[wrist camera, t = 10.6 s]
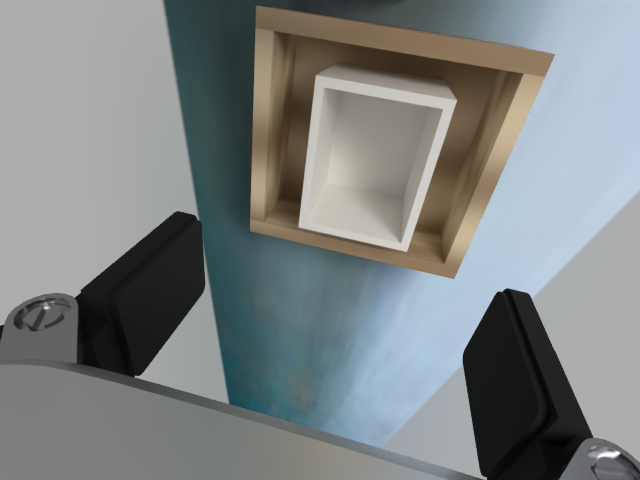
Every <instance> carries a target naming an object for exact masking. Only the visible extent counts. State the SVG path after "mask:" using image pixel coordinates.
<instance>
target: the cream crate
mask: <svg viewBox="0 0 640 480" xmlns="http://www.w3.org/2000/svg"><path fill="white" fill-rule="evenodd" d="M456 102H457V99H456V98H455V96H454V95H453V93H452V92H451V90H450V88H449V87H448V85H447V84H446V82H445V80H440V79H434V78H428V77H423V76H417V75H411V74H405V73H400V72H394V71H388V70H382V69H377V68H371V67H365V66H359V65H354V64H348V63H342V62H338V63H336V64H334V65H333V66H331V67H329V68H327V69H326V70H324V71H322V72H320V73H319V74H317V75H316V78H315V87H314V96H313V104H312V113H311V122H310V130H309V139H308V148H307V157H306V165H305V174H304V183H303V191H302V200H301V209H300V217H299V226H298V227H299V228H304V229H308V230H313V231H317V232H321V233H326V234H330V235H335V236H339V237H343V238H348V239H352V240H357V241H361V242H365V243H370V244H374V245H379V246H383V247H387V248H392V249H396V250H400V251H405V252H407V250H408V247H409V244H410V241H411V238H412V235H413V232H414V229H415V226H416V223H417V220H418V217H419V214H420V211H421V208H422V205H423V202H424V199H425V196H426V193H427V190H428V187H429V184H430V181H431V178H432V175H433V172H434V169H435V166H436V163H437V160H438V157H439V154H440V151H441V148H442V145H443V142H444V139H445V136H446V133H447V130H448V127H449V124H450V120H451V117H452V114H453V111H454V108H455V105H456Z"/></svg>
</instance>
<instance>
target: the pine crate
mask: <svg viewBox="0 0 640 480" xmlns="http://www.w3.org/2000/svg"><path fill="white" fill-rule="evenodd" d="M554 56H555V54H550V53H546V52H541V51H537V50H532V49H528V48H523V47H518V46H511V45H505V44H499V43H493V42H487V41H481V40H475V39H469V38H462V37H456V36H450V35H444V34H438V33H432V32H426V31H420V30H413V29H407V28H401V27H395V26H389V25H383V24H377V23H371V22H364V21H358V20H352V19H346V18H340V17H334V16H328V15H322V14H315V13H309V12H303V11H297V10H291V9H283V8H274V7H265V6H256V30H255V66H254V102H253V138H252V174H251V210H250V231H252V232H256V233H260V234H264V235H269V236H273V237H277V238H281V239H286V240H290V241H294V242H298V243H303V244H307V245H311V246H316V247H320V248H324V249H328V250H333V251H337V252H341V253H345V254H350V255H354V256H358V257H363V258H367V259H371V260H375V261H380V262H384V263H388V264H392V265H397V266H401V267H405V268H409V269H414V270H418V271H422V272H427V273H431V274H435V275H439V276H444V277H448V278H452V279H454V278H455V276H456V274H457V271H458V269H459V267H460V265H461V263H462V260H463V258H464V256H465V254H466V251H467V249H468V247H469V245H470V243H471V240H472V238H473V236H474V234H475V231H476V229H477V227H478V225H479V223H480V220H481V218H482V216H483V214H484V211H485V209H486V207H487V205H488V202H489V200H490V198H491V196H492V194H493V191H494V189H495V187H496V185H497V182H498V180H499V178H500V176H501V174H502V171H503V169H504V167H505V165H506V162H507V160H508V158H509V156H510V154H511V151H512V149H513V147H514V145H515V142H516V140H517V138H518V136H519V134H520V131H521V129H522V127H523V125H524V122H525V120H526V118H527V116H528V114H529V111H530V109H531V107H532V105H533V102H534V100H535V98H536V96H537V93H538V91H539V89H540V87H541V85H542V82H543V80H544V78H545V76H546V73H547V71H548V69H549V67H550V65H551V62H552V60H553V58H554ZM338 62H342V63H348V64H354V65H359V66H365V67H371V68H377V69H382V70H388V71H394V72H400V73H405V74H411V75H417V76H423V77H428V78H434V79H440V80H445V82H446V84H447V85H448V87H449V88H450V90H451V92H452V93H453V95H454V96H455V98H456V99H457V102H456V105H455V108H454V111H453V114H452V117H451V120H450V124H449V127H448V130H447V133H446V136H445V139H444V142H443V145H442V148H441V151H440V154H439V157H438V160H437V163H436V166H435V169H434V172H433V175H432V178H431V181H430V184H429V187H428V190H427V193H426V196H425V199H424V202H423V205H422V208H421V211H420V214H419V217H418V220H417V223H416V226H415V229H414V232H413V235H412V238H411V241H410V244H409V247H408V250H407V252H405V251H400V250H396V249H392V248H387V247H383V246H379V245H374V244H370V243H365V242H361V241H357V240H352V239H348V238H343V237H339V236H335V235H330V234H326V233H321V232H317V231H313V230H308V229H304V228H299V227H298V226H299V217H300V209H301V200H302V191H303V183H304V174H305V165H306V157H307V148H308V139H309V130H310V122H311V113H312V104H313V96H314V87H315V78H316V75H317V74H319V73H320V72H322V71H324V70H326V69H327V68H329V67H331V66H333V65H334V64H336V63H338Z"/></svg>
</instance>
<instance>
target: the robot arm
mask: <svg viewBox="0 0 640 480" xmlns="http://www.w3.org/2000/svg"><path fill="white" fill-rule="evenodd" d="M204 288H205V271H204V256H203V240H202V225H201V222H200V221H198V220H197V218H196V216H195V215H192V214H188V213H183V212H179V211H178V212H175V213H173V214H172V215H171V216H170V217H169V218H167V219H166V220H165V221H164V222H163V223H162V224H160V225H159V226H158V227H157V228H155V229H154V230H153V231H152V232H151V233H150V234H148V235H147V236H146V237H145V238H143V239H142V240H141V241H140V242H138V243H137V244H136V245H135V246H133V247H132V248H131V249H130V250H129V251H128V252H126V253H125V254H124V255H123V256H121V257H120V258H119V259H118V260H117V261H115V262H114V263H113V264H112V265H110V266H109V267H108V268H107V269H106V270H104V271H103V272H102V273H101V274H100V275H98V276H97V277H96V278H95V279H93V280H92V281H91V282H90V283H89V284H87V285H86V286H85V287H84V288H83V289H81V293H80V294H79V295H78V296H76V297H75V298H73V297H72V296H70V295H67V294H60V293H52V294H45V295H41V296H38V297H34V298H32V299H29V300H27V301H25V302H23V303H22V304H20V305H19V306H17V307H16V308H14V309H13V310H12V311H11V313H10V314H9V315H8V317H7V319H6V321H5V324H4V325H2V326H0V480H483V479H480V478H476V477H473V476H470V475H467V474H464V473H461V472H457V471H454V470H451V469H448V468H445V467H442V466H438V465H435V464H431V463H428V462H425V461H421V460H418V459H414V458H411V457H408V456H404V455H401V454H398V453H394V452H391V451H388V450H384V449H381V448H377V447H374V446H371V445H367V444H364V443H361V442H357V441H354V440H350V439H347V438H344V437H340V436H337V435H333V434H330V433H326V432H323V431H320V430H316V429H313V428H309V427H306V426H302V425H299V424H296V423H292V422H289V421H285V420H282V419H278V418H275V417H271V416H268V415H265V414H261V413H258V412H254V411H251V410H247V409H244V408H240V407H237V406H233V405H230V404H226V403H223V402H219V401H216V400H212V399H209V398H205V397H202V396H198V395H195V394H191V393H188V392H184V391H180V390H177V389H173V388H170V387H167V386H163V385H160V384H156V383H153V382H148V381H145V380H141V379H138V378H134V377H135V376H139V375H141V374H142V373H143V372H144V371H145V369H146V368H147V367H148V365H149V364H150V362H151V361H152V360H153V359H154V358H155V356H156V355H157V354H158V352H159V350H161V348H162V347H163V345H164V344H165V343H166V341H167V340H168V339H169V338H170V336H171V335H172V334H173V332H174V331H175V329H176V328H177V327H178V325H179V324H180V323H181V321H182V320H183V319H184V317H185V316H186V315H187V314H188V312H189V311H190V310H191V308H192V307H193V305H194V304H195V303H196V302H197V300H198V299H199V297H200V296H201V295H202V293H203V291H204ZM463 367H464V373H465V379H466V386H467V392H468V398H469V404H470V411H471V417H472V423H473V430H474V436H475V442H476V448H477V454H478V461H479V467H480V472H481V474H482V475H483V476H484V477H487V480H640V462H638V461H637V460H636V459H635V458H634V457H633V456H632V455H630V454H629V453H628V452H627V451H625V450H624V449H622V448H621V447H619V446H618V445H616V444H614V443H611V442H609V441H607V440H604V439H599V438H593V435H592V433H591V431H590V429H589V426H588V424H587V422H586V420H585V417H584V416H583V413H582V411H581V408H580V406H579V404H578V402H577V400H576V397H575V395H574V393H573V390H572V388H571V386H570V384H569V381H568V380H567V377H566V375H565V373H564V370H563V368H562V366H561V363H560V361H559V359H558V356H557V354H556V352H555V351H554V349H553V347H552V344H551V342H550V340H549V338H548V335H547V333H546V331H545V328H544V326H543V324H542V322H541V319H540V317H539V315H538V313H537V310H536V308H535V306H534V303H533V301H532V299H531V297H530V295H529V294H528V293H525V292H521V291H516V290H512V289H505V290H504V291H503V292H497V293H496V295H495V296H494V298H493V300H492V302H491V303H490V305H489V307H488V309H487V311H486V312H485V314H484V316H483V318H482V320H481V321H480V323H479V325H478V327H477V329H476V330H475V332H474V334H473V336H472V337H471V339H470V341H469V343H468V345H467V346H466V348H465V350H464V353H463Z"/></svg>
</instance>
